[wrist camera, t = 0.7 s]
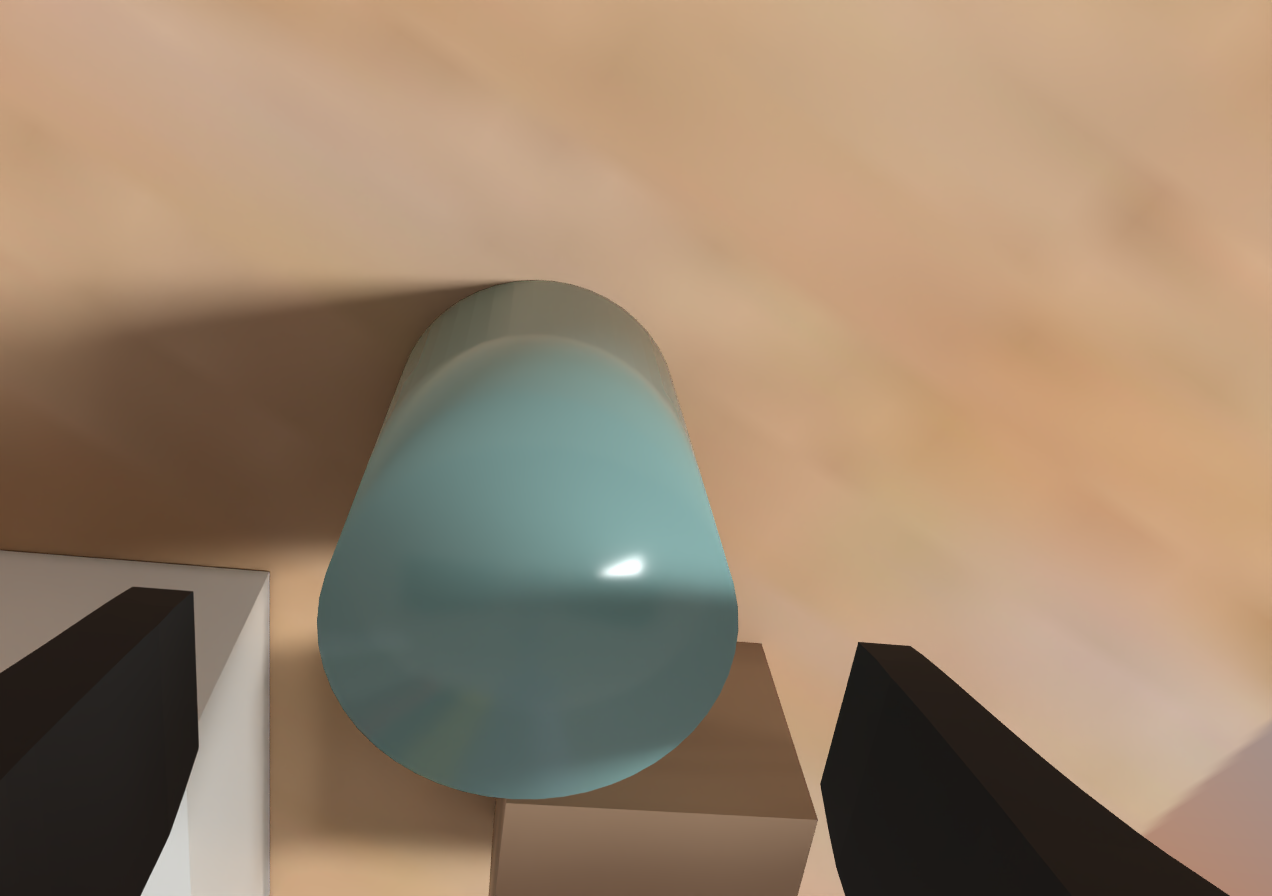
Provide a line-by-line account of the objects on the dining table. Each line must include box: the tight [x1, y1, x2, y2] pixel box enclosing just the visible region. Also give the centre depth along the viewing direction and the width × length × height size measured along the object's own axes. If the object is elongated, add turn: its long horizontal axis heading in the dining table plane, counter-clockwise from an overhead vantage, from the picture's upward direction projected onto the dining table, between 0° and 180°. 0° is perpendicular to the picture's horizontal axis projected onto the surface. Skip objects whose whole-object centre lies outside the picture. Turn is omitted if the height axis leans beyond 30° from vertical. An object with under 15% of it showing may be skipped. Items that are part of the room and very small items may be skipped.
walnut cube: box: [489, 642, 818, 896], centre depth 20 cm, size 5×5×5 cm
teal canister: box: [317, 280, 738, 799], centre depth 16 cm, size 5×5×7 cm
